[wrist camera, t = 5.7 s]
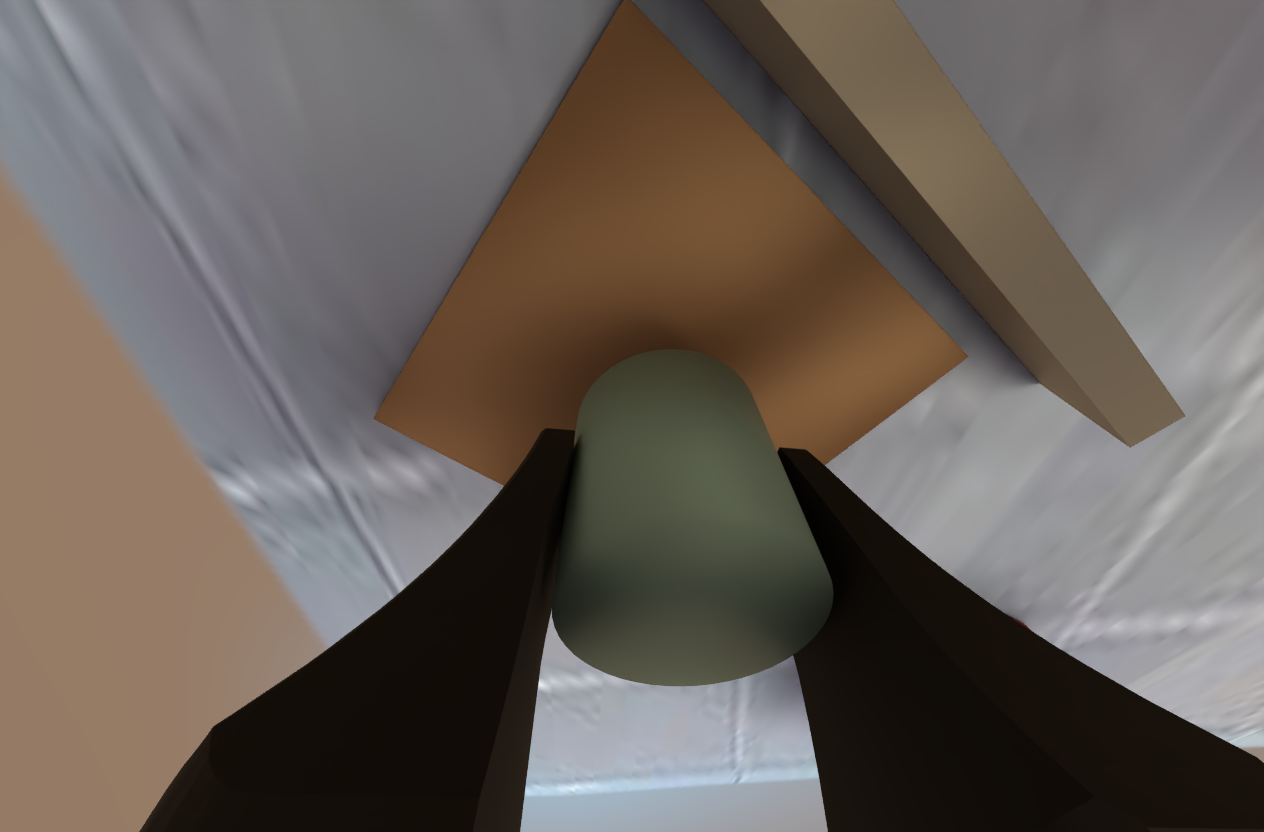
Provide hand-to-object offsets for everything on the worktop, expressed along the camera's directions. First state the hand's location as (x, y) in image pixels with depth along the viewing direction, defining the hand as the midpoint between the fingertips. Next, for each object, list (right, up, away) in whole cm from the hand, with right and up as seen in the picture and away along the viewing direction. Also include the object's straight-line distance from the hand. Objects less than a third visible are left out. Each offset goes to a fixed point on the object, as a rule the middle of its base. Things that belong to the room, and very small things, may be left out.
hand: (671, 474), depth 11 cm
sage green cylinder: (0, +1, +1) cm, 1 cm away
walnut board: (0, +2, +3) cm, 4 cm away
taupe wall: (+5, +7, 0) cm, 9 cm away
